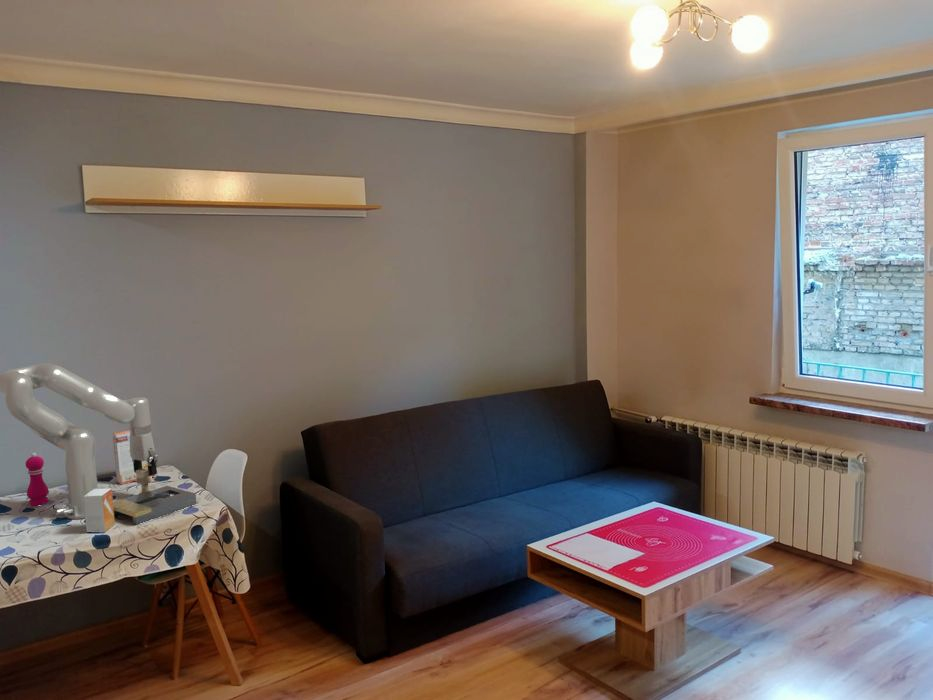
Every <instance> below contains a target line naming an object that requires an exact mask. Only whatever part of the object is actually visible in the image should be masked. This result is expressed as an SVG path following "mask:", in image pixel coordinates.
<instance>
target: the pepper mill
mask: <svg viewBox="0 0 933 700" xmlns="http://www.w3.org/2000/svg"><path fill="white" fill-rule="evenodd" d="M37 454H38V453H36V452H32V453H31V457H29V458H27V459H26V461H25V467H26V469H28V470H27V474H28V475H29V479H30V481H29V485H28V487H27V490H26V497H27V498H28V499H29V500H28V502H29V503H28V504H29V506H30V505H31V506H30V507H33V506H35V507H39V506H38V505H42V506H44V505H43V504H45V505H47V504H49V497H47V496H48V495H49V492H50V490H49V488H48V486H47V484H46V483H45V481H44V478H43V473H44V468H43V467H44V464H45V461H44V459H43V458H42V457H41V456H38V455H37ZM46 503H47V504H46Z"/></svg>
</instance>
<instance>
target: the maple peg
mask: <svg viewBox="0 0 933 700" xmlns="http://www.w3.org/2000/svg"><path fill="white" fill-rule="evenodd" d="M136 479H137V481H136V484H139V485H141V491H140V492H139V493H138V494H142V493H145V492H148V491H150V490H149V484H151V483H153V478H152V476H149V474H148V468H143V469H140V470H136Z"/></svg>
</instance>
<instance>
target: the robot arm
mask: <svg viewBox="0 0 933 700" xmlns="http://www.w3.org/2000/svg"><path fill="white" fill-rule="evenodd" d="M43 387H44V388H47V389H49V390H50V391H53V392H54V393H55V394H58V395H60V396H62V397H64V398H65V399H68V400H69V401H71V402H73V403H74V404H77V405H79V406H81V407H84V408H87V409H90V410H92V411H96V412H98V413H100V414H102V415H103V416H104V417H105V418H106V419H107V420H109V421H112V422H115V423H118V424H122V425H123V424H124V425H126V424H129V426H128V427H129V430H130V450H129V451H130V456H131V458H132V462H133V466H134V472H136V470H140V469H142V461H145V460H146V461H147V463H148V465H149V466H148V474H149V476H152V475H155V476H156V475H157V474H158V472H157V471H158V470H157V464H158V457H159V456H158V454H157V453H156V450H155V444H154V438H153V434H152V432H153V431H152V422H151V415H150V413H151V412H150V406H149V403H150V402H149V399H148V398H146V397H142V396H139V397H133V398H130V399H121V398H119V397H118V396H115V395H113V394H111V393H109V392H108V391H106V390H104V389H103V388H101V387H99V386H97V385H96V384H93V383H92V382H90V381H88V380H86V379H84V378H82V377H81V376H79V375H77V374H75V373H73V372H71V371H70V370H68V369H66V368H65V367H62V366H60V365H57V364H53V363H48V362H47V363H46V362H44V363H38V364H34V365H33V364H32V365H28V366H23V367H18V368H11V369H7V370H4V371H3V372H1V373H0V392H1V393H3V394H4V395H5V405H6V408H7V410H8V412H9V413H10V415H11V416H13V417H14V418H15V419H16V420H18V421H19V422H20V423H22V424H23V425H25V426H27V427H28V428H29V429H30V430H31V432H32V433H34V434H35V435H37V436H39V437H40V438H42V439H43V440H45V441H47V442H48V443H50V444H52V445H54V446H55V447H57V448H59V449H61V450H63V451H65V453H66V454H65V476H66V485H67V494H68V503H66V504H65V506H64V507H61V508H59V509H55V515H56V516H60V515H64V516H65V518H67V519H71V520H79V519H80V520H82V519H86V518H85V508H84V496H85V495H86V494H88V493H89V492H91V491H92V490H93V489H99V488H98V478H97V477H98V476H97V469H96V457H95V456H96V439H95V436H94V434H92V432H91V431H90V430H88V429H86V428H84V427H82V426H81V427H80V426H78V425H76V424H74V423H72V422H70V421H69V420H67V419H66V418H65V417H64V416H63V415H62V414H61V413H59V412H56V411H54V410H53V409H51V408H50V407H47V406H46V405H44V404H43V403H41V402H40V401H39V400H38V399H36V397H35V396H34V392H33V391H34V390H36V389H39V388H43ZM149 460H151V462H150V461H149Z"/></svg>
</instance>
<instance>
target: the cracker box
mask: <svg viewBox="0 0 933 700" xmlns="http://www.w3.org/2000/svg"><path fill="white" fill-rule="evenodd" d="M111 435H112V443H113V444H112V445H113V453H114V454H113V455H114V464H115V473H116V481H118V482H117V483H119V484H120V485H125V484H124V483H126V484H129V483H128V482H130V483H133V482H132V481H135V482H137V479H136V472H134V466H133V462H132V458H131V456H130V451H129V450H130V429H129V430H124V431H120V432H119V431H117V432H114V433H112V434H111ZM149 461H150V462H151V460H149ZM148 466H149V465H148V463H147V461H146V460H145V461H142V469H143V468H148ZM154 476H155V477H156V475H152V477H154ZM155 477H154V478H155Z"/></svg>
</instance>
